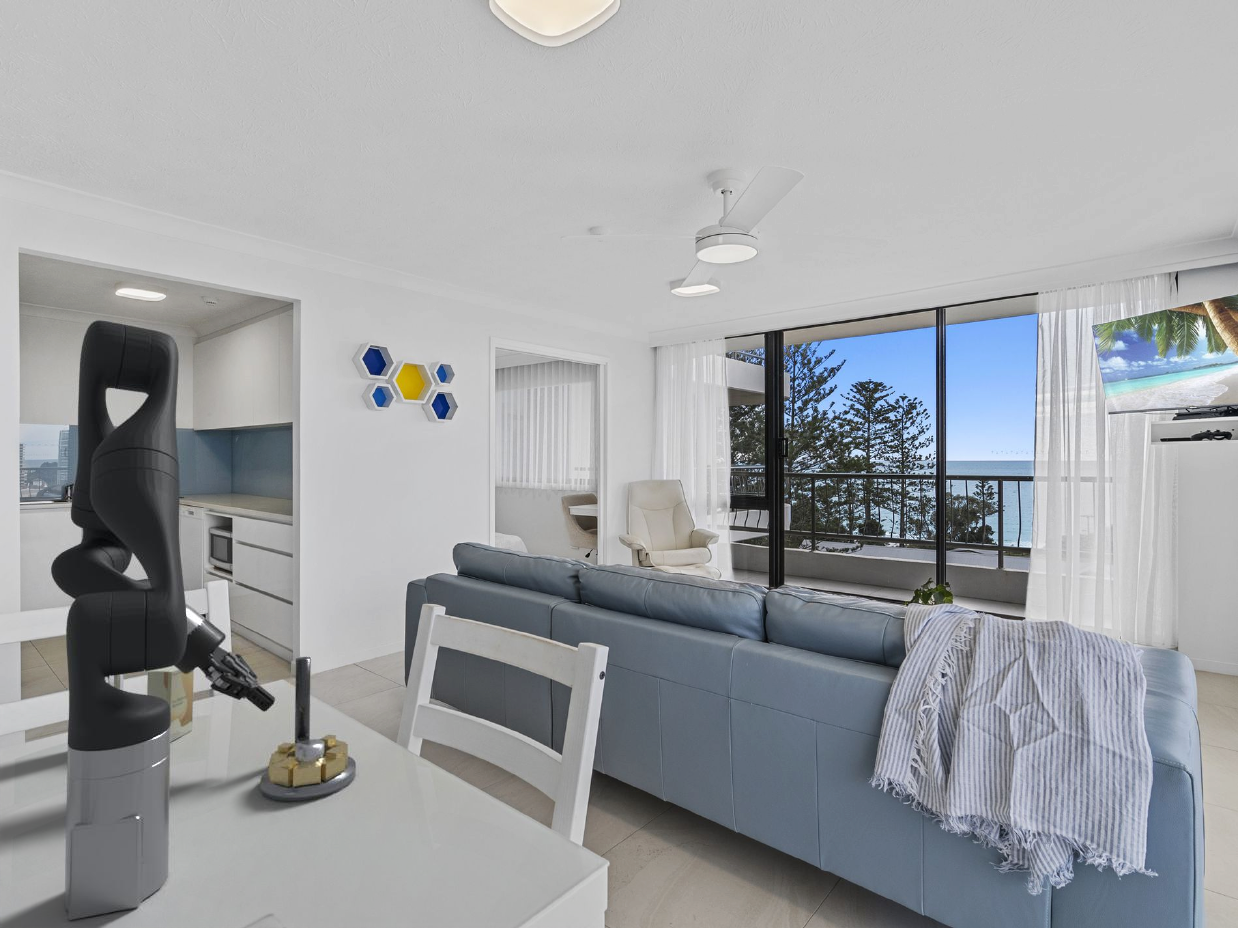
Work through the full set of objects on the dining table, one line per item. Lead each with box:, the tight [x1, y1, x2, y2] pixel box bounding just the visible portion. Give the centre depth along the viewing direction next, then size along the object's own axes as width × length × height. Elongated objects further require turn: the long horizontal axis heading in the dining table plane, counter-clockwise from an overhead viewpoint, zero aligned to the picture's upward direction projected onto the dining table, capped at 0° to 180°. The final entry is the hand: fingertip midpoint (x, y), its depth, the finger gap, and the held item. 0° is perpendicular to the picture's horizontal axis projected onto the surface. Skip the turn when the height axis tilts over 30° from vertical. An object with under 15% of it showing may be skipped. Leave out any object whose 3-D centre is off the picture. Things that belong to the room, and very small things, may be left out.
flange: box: [260, 738, 357, 804], centre depth 100 cm, size 13×13×6 cm
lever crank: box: [268, 656, 349, 787], centre depth 103 cm, size 16×11×14 cm, turn 21°
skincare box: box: [146, 666, 195, 743], centre depth 117 cm, size 6×4×12 cm
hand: (270, 705), depth 107 cm, fingers closed
